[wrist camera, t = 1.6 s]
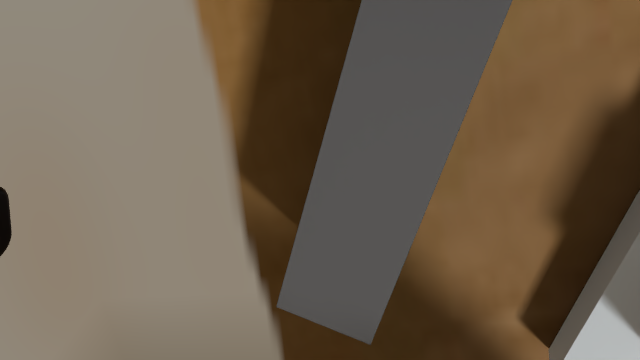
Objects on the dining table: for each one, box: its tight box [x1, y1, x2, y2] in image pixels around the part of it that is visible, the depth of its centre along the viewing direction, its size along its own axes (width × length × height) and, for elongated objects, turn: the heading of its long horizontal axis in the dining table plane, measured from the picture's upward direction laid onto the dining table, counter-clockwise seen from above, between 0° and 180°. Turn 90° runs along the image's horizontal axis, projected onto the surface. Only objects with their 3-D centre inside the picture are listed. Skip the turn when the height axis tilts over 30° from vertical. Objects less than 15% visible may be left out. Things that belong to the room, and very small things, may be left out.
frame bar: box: [276, 0, 512, 345], centre depth 16 cm, size 14×3×4 cm, turn 166°
